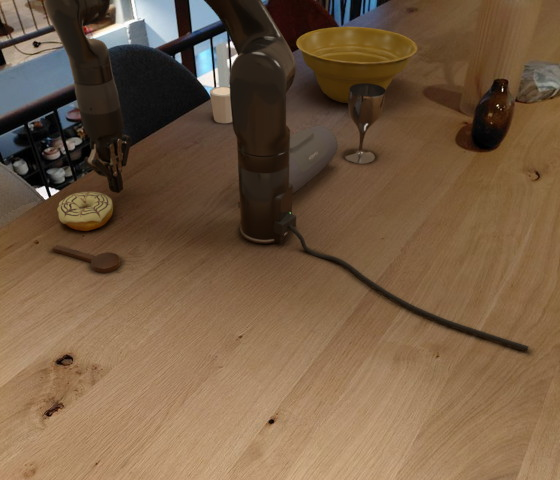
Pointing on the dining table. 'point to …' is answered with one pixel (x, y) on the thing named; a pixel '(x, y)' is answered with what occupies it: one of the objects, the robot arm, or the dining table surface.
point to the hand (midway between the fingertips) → (117, 190)
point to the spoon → (93, 259)
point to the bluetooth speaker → (310, 154)
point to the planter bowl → (354, 57)
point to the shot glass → (221, 104)
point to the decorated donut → (85, 210)
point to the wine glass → (364, 115)
